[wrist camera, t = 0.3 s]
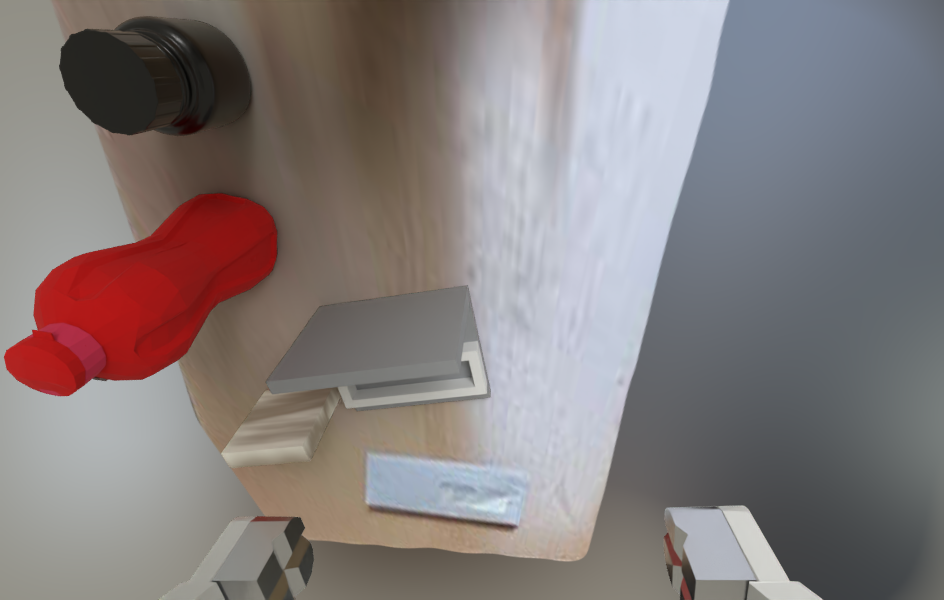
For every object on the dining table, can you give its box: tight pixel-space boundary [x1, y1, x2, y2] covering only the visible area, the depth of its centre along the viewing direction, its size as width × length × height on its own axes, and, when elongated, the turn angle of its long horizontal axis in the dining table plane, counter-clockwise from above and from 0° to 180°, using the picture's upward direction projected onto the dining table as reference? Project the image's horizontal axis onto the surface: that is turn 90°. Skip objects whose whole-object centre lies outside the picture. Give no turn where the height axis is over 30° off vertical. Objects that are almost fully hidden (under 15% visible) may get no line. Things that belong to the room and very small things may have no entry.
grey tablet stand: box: [266, 286, 491, 411], centre depth 50 cm, size 16×18×14 cm
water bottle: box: [4, 193, 277, 396], centre depth 40 cm, size 9×11×25 cm
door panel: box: [221, 387, 341, 468], centre depth 56 cm, size 3×10×11 cm, turn 101°
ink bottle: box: [59, 16, 251, 136], centre depth 37 cm, size 10×9×12 cm
